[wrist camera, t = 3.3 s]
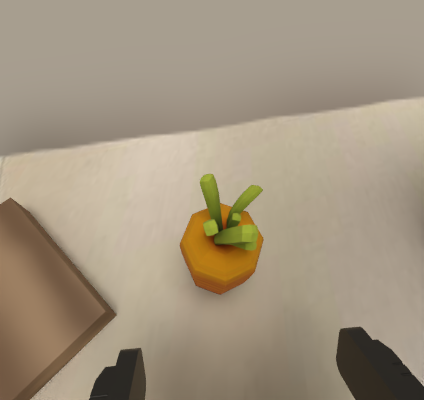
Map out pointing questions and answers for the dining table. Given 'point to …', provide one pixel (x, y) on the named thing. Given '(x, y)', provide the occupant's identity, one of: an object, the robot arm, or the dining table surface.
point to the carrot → (222, 240)
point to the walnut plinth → (40, 306)
